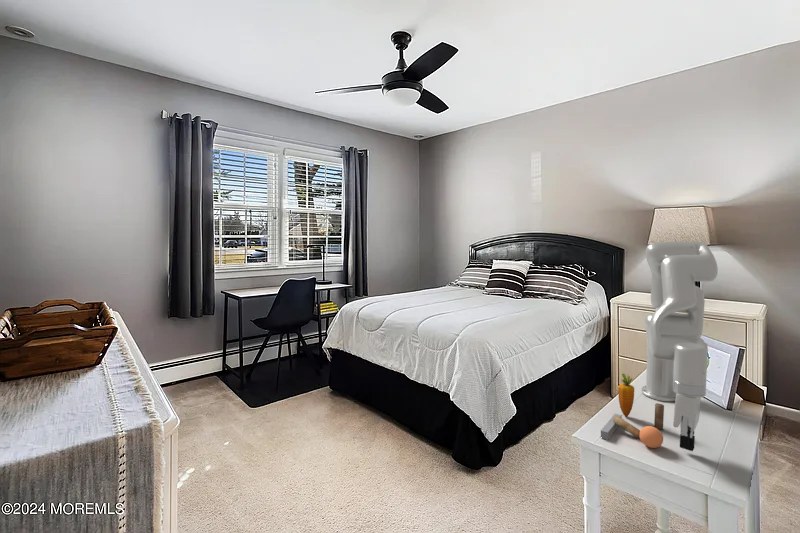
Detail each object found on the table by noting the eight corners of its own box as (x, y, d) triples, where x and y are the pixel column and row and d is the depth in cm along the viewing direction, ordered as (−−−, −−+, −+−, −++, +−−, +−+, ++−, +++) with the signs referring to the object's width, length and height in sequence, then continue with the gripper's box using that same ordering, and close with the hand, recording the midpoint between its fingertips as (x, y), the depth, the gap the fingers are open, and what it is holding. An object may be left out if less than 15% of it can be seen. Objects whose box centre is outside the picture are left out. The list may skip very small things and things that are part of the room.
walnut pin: (655, 425, 130) (656, 402, 129) (663, 428, 128) (664, 404, 127) (653, 428, 128) (654, 405, 127) (662, 431, 126) (663, 407, 125)
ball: (656, 420, 118) (667, 435, 119) (635, 423, 122) (646, 437, 123) (656, 436, 114) (667, 451, 115) (634, 438, 118) (646, 453, 118)
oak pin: (640, 437, 124) (614, 420, 129) (643, 430, 123) (617, 414, 129) (637, 439, 122) (611, 422, 128) (640, 433, 122) (614, 416, 127)
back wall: (614, 420, 134) (615, 413, 134) (621, 422, 133) (621, 415, 133) (600, 437, 124) (600, 430, 124) (607, 440, 123) (607, 432, 123)
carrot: (636, 420, 134) (637, 377, 132) (620, 419, 135) (621, 377, 133) (631, 413, 138) (631, 372, 137) (615, 412, 139) (616, 371, 138)
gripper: (678, 375, 120) (676, 433, 122) (667, 392, 110) (665, 455, 112) (709, 381, 115) (707, 441, 117) (701, 400, 105) (698, 465, 107)
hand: (686, 448), depth 115 cm, fingers closed
